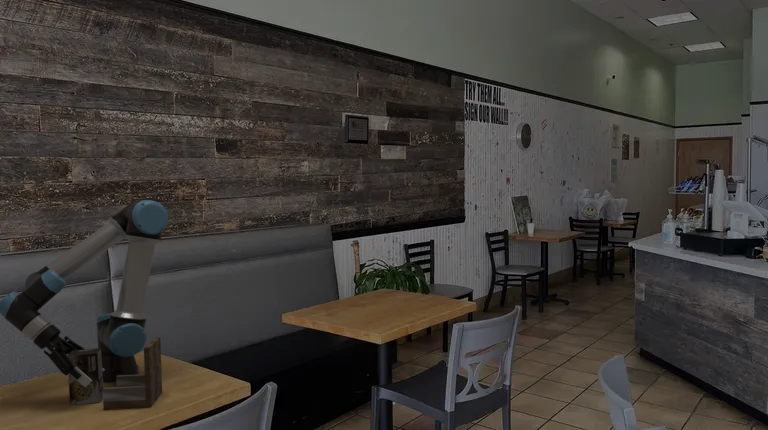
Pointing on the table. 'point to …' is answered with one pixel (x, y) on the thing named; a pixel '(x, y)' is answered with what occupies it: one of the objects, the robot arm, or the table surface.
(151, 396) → the walnut shelf slot
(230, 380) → the table surface
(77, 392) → the coffee box
